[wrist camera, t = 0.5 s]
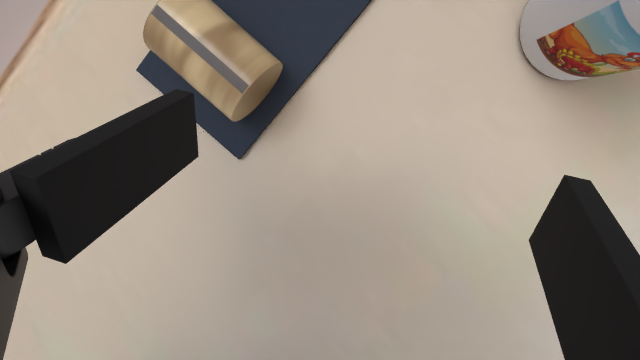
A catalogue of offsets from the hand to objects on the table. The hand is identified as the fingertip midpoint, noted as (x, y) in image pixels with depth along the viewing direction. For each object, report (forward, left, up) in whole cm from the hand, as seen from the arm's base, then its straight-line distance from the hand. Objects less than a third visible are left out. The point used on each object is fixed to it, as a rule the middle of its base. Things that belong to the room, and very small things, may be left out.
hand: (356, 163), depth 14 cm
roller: (-2, +12, -14) cm, 18 cm away
